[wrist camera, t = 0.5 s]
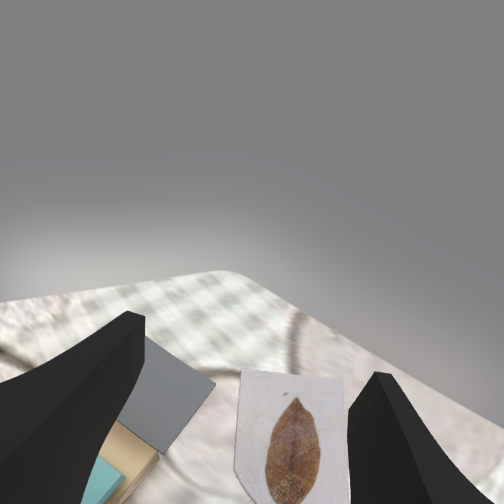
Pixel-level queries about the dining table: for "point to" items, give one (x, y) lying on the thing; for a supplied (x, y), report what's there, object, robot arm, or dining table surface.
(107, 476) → the turquoise rectangular block
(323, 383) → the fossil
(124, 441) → the block
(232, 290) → the dining table surface
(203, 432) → the dining table surface
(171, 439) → the mat
